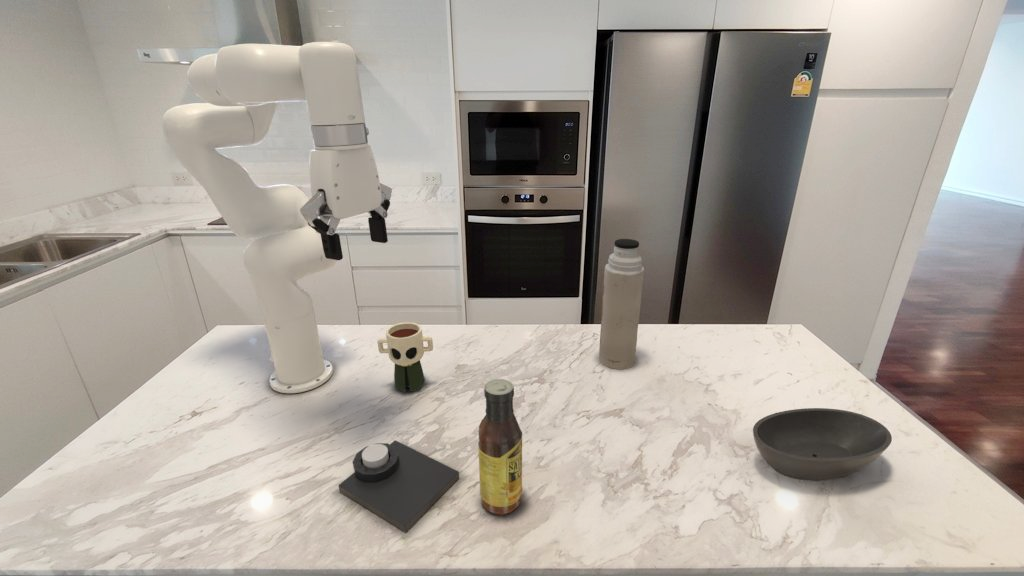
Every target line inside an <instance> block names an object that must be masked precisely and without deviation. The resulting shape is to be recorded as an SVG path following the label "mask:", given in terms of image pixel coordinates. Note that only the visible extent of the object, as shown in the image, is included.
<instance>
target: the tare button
mask: <svg viewBox="0 0 1024 576" xmlns="http://www.w3.org/2000/svg"><path fill="white" fill-rule="evenodd" d="M367 446H368V447H367ZM367 446H366V447H367V448H365V447H364V448H365V449H364V451H363V452H362V460H363V465H364V466H365V467H366V468H368V469H376V468H379V467H382V466H384V465H385V464H386V463H387V462H388V460H389V455H388V449H387V447H386V446H385V445H383V444H377V443H373V444H371V445H367Z"/></svg>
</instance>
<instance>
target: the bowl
mask: <svg viewBox="0 0 1024 576" xmlns="http://www.w3.org/2000/svg"><path fill="white" fill-rule="evenodd" d="M752 434H753V439H754V442H755V445H756V448H757V450H758V453H759V454H760V456H761V457H762V459H763V460H764V461H765V462H766V464H767V465H768V466H769V467H770V468H771V469H773V470H774V471H775V472H776V473H778V474H780V475H782V476H784V477H787V478H790V479H794V480H801V481H814V482H815V481H816V482H817V481H818V482H819V481H828V480H830V481H831V480H835V479H839V478H843V477H845V476H847V475H851V474H853V473H855V472H857V471H859V470H861V469H863V468H865V467H866V466H868V465H870V464H872V462H874V461H875V460H876V459H877V458H879V457H880V456H881V455H882V454H883V453H884V452H885V451H886V450H887V449H888V448H889V446H890V445H891V444H892V441H893V436H892V434H891V432H890V431H889V429H888V428H887V427H886V426H884V424H882V423H881V422H879V421H877V420H876V419H873V418H871V417H870V416H867V415H864V414H861V413H859V412H854V411H849V410H844V409H837V408H825V407H809V408H807V407H806V408H795V409H794V408H793V409H788V410H783V411H777V412H775V413H771V414H769V415H766V416H763V417H762V418H760V419H759V420H758V421H756V422H755V424H754V425H753V428H752Z"/></svg>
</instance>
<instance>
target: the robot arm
mask: <svg viewBox="0 0 1024 576" xmlns="http://www.w3.org/2000/svg"><path fill="white" fill-rule="evenodd" d="M186 78H187V83H188V85H189V88H190V90H191V91H192V92H193V94H195V96H197V97H198V98H199V99H200V100H201V101H203V102H197V103H187V104H186V103H185V104H180V105H177V106H173V107H171V108H169V109H168V110H167V111H165V113H164V114H163V115H162V118H161V128H162V132H163V136H164V139H165V142H166V144H167V146H168V148H169V150H170V152H171V153H172V155H173V156H174V158H175V159H176V161H177V162H178V163H179V164H180V166H181V167H182V168H183V169H184V170H185V171H186V172H187V173H188V174H189V175H190V176H191V177H192V178H193V179H194V180H195V181H196V182H198V184H199V185H200V186H201V187H202V188H203V189H204V191H205V193H206V194H207V196H208V197H209V199H210V200H211V202H212V204H213V205H214V206H215V208H216V210H217V211H218V213H219V214H220V216H221V218H222V220H224V222H225V224H226V225H227V226H228V228H229V229H230V231H231V232H232V233H233V234H234V235H235V236H236V237H238V238H240V239H242V240H252V239H255V240H253V241H251V242H250V243H249V244H247V246H246V247H245V249H244V250H243V252H242V253H243V254H242V261H243V264H244V268H245V271H246V272H247V274H248V276H249V278H250V281H251V284H252V285H253V288H254V291H255V294H256V296H257V300H258V304H259V307H260V312H261V316H262V320H263V323H264V324H263V325H264V328H265V333H266V336H267V341H268V345H269V349H270V353H271V354H270V356H269V359H268V361H270V362H272V363H273V366H274V370H273V372H272V373H271V374H270V376H269V380H268V382H269V385H270V388H271V389H272V390H274V391H276V392H278V393H282V394H298V393H304V392H308V391H311V390H313V389H317V388H318V387H320V386H323V384H325V383H326V382H328V381H329V379H331V378H332V376H333V373H334V368H333V367H334V366H333V364H332V363H331V361H329V360H328V359H325V358H324V355H323V351H322V346H321V341H320V334H319V329H318V323H317V319H316V313H315V308H314V303H313V299H312V297H311V296H310V294H309V293H308V291H307V290H306V289H304V288H303V287H301V286H300V285H299V284H298V283H297V281H298V280H300V279H303V278H305V277H307V276H310V275H313V274H317V273H321V272H322V271H325V270H329V269H330V268H332V267H333V266H334V265H335V264H337V262H338V261H341V260H343V258H344V255H343V250H342V243H341V238H340V235H339V233H336V232H337V229H338V226H339V224H340V221H341V220H344V219H349V218H351V217H354V216H358V215H359V216H360V215H362V214H366V213H367V214H368V215H369V216H370V217H367V221H368V222H367V223H368V228H369V236H370V240H371V242H374V243H381V244H387V243H388V241H389V239H388V232H387V225H386V224H387V223H386V219H387V218H388V210H389V208H390V206H391V197H392V194H393V193H392V192H393V189H392V188H391V187H390V186H387V185H385V184H383V183H382V182H380V176H379V172H378V171H379V170H378V168H377V163H376V159H375V156H374V153H373V150H372V146H371V145H370V144H369V140H368V136H369V134H370V131H369V128H368V127H367V126H366V119H365V111H364V105H363V97H362V96H363V95H362V90H361V82H360V75H359V68H358V61H357V56H356V52H355V50H354V49H353V47H352V46H351V45H350V44H347V43H344V42H339V41H312V42H307V43H304V44H302V45H288V44H287V45H286V44H274V43H273V44H271V43H240V44H232V45H227V46H222V47H220V48H219V49H218V51H217V53H212V54H211V53H210V54H206V55H203V56H199V58H196V59H195V60H194V61H193V62H192V63H191V64H190V65H189V68H188V69H187V77H186ZM294 102H295V103H296V102H300V103H302V102H306V107H307V115H308V118H309V124H310V131H311V135H312V140H313V147H314V149H310V150H309V164H308V165H309V166H308V167H309V183H310V192H311V198H310V199H309V198H308V196H307V195H306V194H305V193H304V191H302V190H301V189H300V188H299V187H297V186H295V185H292V184H288V183H281V184H274V185H269V186H268V185H267V186H260V185H259V184H257V183H256V182H255V181H254V179H253V178H252V176H251V175H250V173H249V172H248V170H247V169H246V168H245V167H244V166H243V165H241V164H240V163H239V162H237V161H236V160H235V159H233V158H232V157H229V156H227V155H225V154H223V153H222V152H220V151H218V149H219V150H220V149H231V148H240V147H250V146H256V145H259V144H260V143H262V142H263V141H264V140H265V139H266V138H267V135H268V133H269V131H270V127H271V124H272V121H273V118H274V115H275V113H276V109H277V108H278V107H277V106H278V103H294Z"/></svg>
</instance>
